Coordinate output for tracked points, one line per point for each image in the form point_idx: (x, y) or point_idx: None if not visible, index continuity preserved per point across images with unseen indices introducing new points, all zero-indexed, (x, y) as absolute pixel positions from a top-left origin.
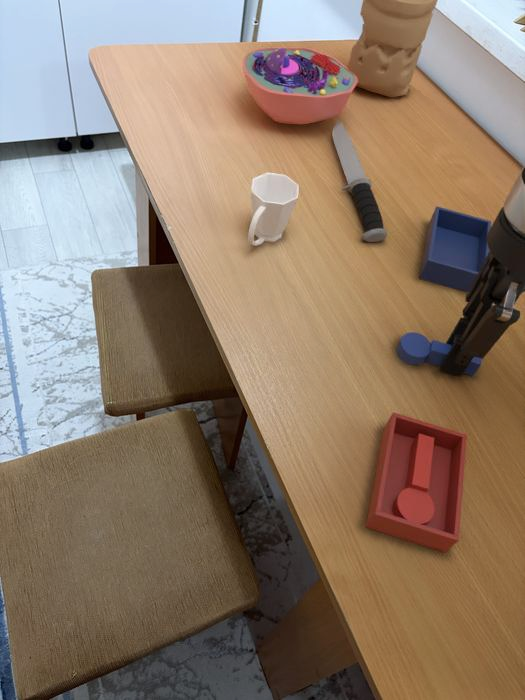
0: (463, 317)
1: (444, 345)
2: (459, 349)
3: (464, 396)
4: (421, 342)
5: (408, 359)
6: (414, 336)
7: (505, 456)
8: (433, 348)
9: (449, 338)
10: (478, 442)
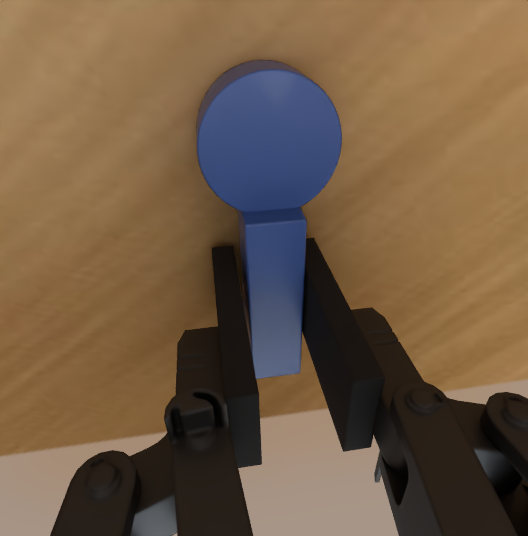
0: (408, 358)
1: (290, 266)
2: (216, 369)
3: (156, 324)
4: (290, 170)
5: (197, 127)
6: (315, 133)
7: (23, 430)
8: (256, 231)
9: (323, 283)
10: (15, 379)
